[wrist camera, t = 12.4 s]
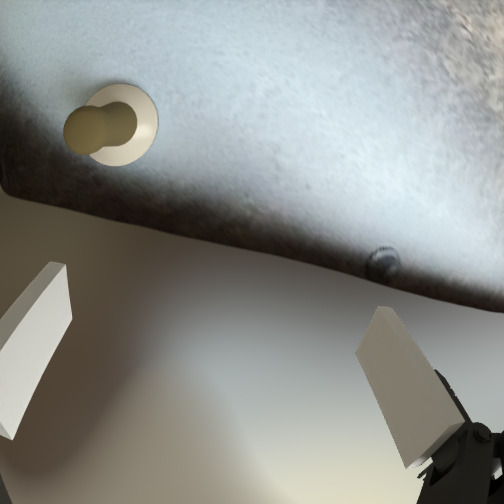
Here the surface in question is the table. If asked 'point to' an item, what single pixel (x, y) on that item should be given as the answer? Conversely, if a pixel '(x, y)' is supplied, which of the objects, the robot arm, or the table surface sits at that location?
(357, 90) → the table surface
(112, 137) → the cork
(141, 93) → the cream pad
